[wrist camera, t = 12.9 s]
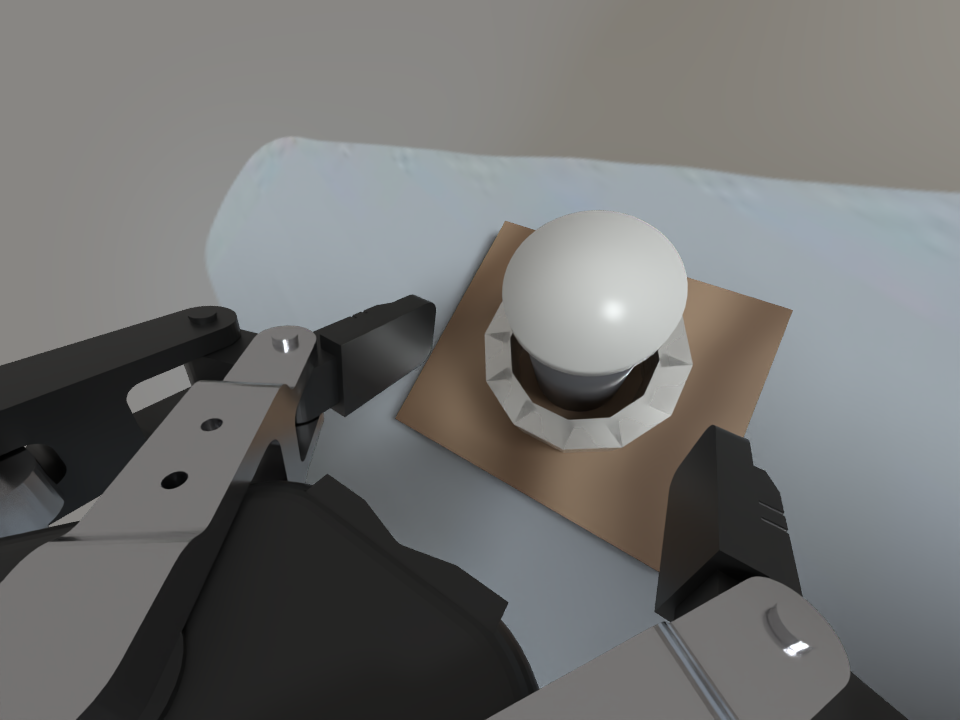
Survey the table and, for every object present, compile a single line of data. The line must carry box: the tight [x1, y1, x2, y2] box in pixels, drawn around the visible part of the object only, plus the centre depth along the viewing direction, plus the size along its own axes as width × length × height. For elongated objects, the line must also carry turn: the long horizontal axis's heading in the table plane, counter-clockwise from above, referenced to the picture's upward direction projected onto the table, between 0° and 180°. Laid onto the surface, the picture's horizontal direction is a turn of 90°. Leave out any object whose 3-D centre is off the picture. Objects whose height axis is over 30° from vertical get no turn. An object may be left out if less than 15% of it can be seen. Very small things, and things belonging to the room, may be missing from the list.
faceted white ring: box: [485, 301, 693, 453], centre depth 17 cm, size 9×9×4 cm
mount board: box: [395, 221, 793, 572], centre depth 20 cm, size 16×14×2 cm
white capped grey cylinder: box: [502, 210, 688, 412], centre depth 14 cm, size 5×5×10 cm
